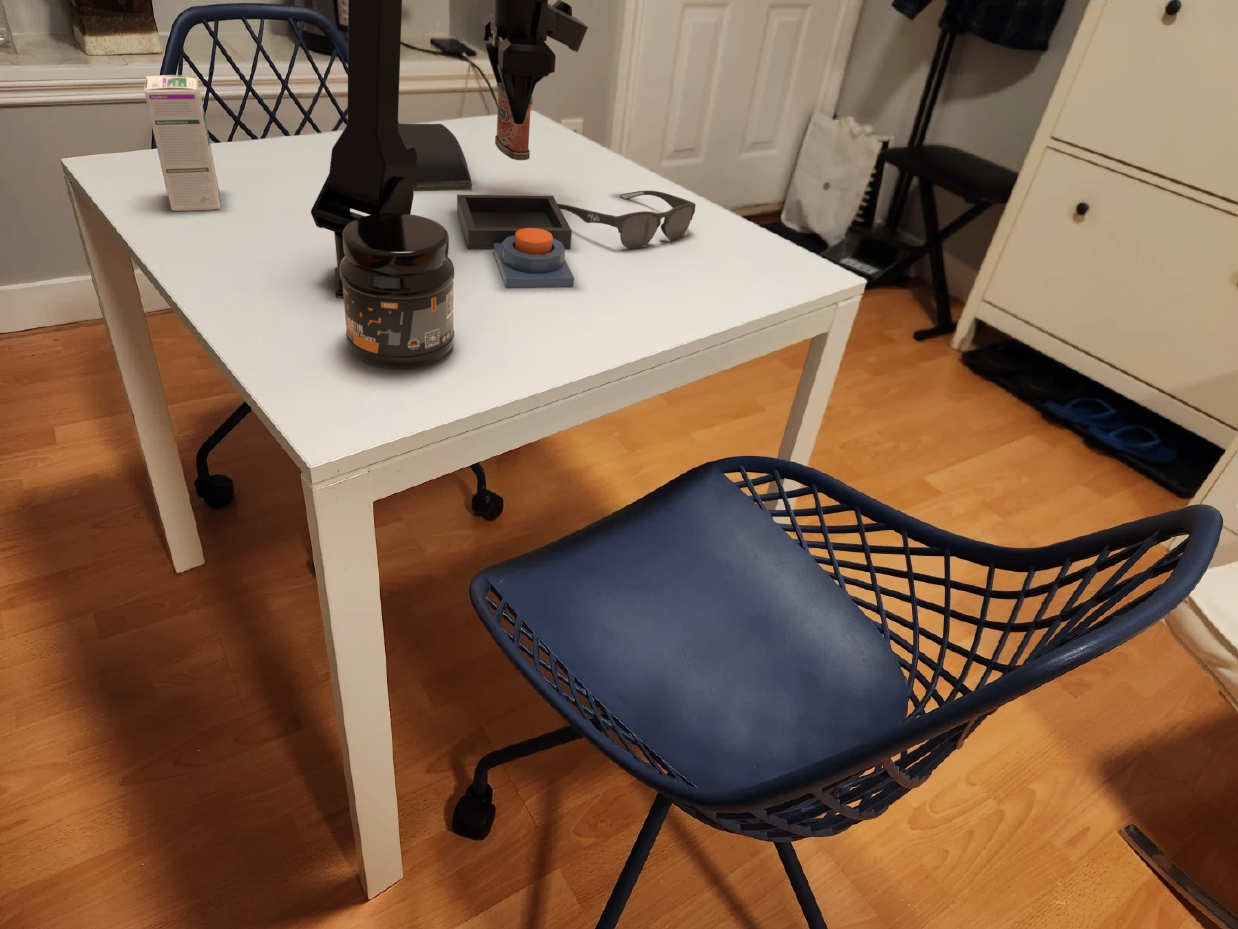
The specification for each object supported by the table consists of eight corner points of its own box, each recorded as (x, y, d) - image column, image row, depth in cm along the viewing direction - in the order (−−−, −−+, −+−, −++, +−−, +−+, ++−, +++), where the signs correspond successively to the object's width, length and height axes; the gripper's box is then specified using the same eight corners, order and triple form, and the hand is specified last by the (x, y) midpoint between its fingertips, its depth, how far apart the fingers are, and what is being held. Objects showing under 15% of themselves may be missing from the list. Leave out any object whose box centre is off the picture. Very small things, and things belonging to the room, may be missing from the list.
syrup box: (221, 209, 108) (200, 87, 99) (169, 211, 106) (142, 87, 97) (219, 193, 112) (199, 74, 103) (169, 194, 110) (144, 73, 101)
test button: (555, 256, 101) (556, 242, 100) (518, 256, 100) (518, 242, 99) (548, 241, 105) (548, 227, 104) (512, 241, 104) (512, 227, 103)
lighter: (489, 140, 116) (491, 61, 110) (513, 140, 117) (517, 61, 112) (510, 160, 110) (513, 77, 105) (534, 159, 112) (539, 77, 106)
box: (573, 287, 101) (575, 263, 100) (505, 288, 99) (506, 263, 97) (556, 251, 109) (558, 229, 107) (493, 252, 107) (493, 228, 105)
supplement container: (331, 331, 87) (320, 217, 80) (429, 313, 92) (426, 204, 85) (369, 382, 80) (360, 262, 73) (472, 360, 86) (473, 246, 79)
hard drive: (383, 190, 119) (381, 161, 116) (366, 145, 133) (365, 118, 131) (477, 189, 123) (477, 160, 121) (451, 145, 137) (451, 119, 135)
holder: (570, 249, 110) (572, 230, 109) (468, 249, 107) (468, 230, 105) (552, 213, 119) (553, 195, 118) (457, 212, 116) (457, 194, 114)
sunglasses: (614, 256, 109) (617, 217, 107) (537, 223, 120) (537, 186, 117) (705, 237, 119) (710, 201, 116) (626, 208, 129) (628, 173, 127)
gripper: (603, -3, 97) (590, 139, 106) (568, -29, 111) (559, 98, 121) (505, -11, 94) (501, 135, 103) (481, -37, 108) (479, 94, 117)
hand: (513, 114), depth 111 cm, fingers closed on lighter, 8 cm apart
